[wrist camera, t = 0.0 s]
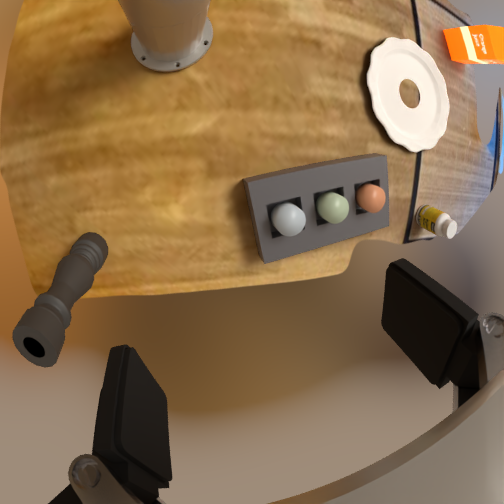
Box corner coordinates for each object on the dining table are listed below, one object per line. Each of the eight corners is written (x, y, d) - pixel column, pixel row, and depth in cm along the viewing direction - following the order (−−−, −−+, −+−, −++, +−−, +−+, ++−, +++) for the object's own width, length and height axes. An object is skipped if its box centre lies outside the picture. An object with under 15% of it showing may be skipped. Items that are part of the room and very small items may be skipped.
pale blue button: (268, 205, 43) (273, 210, 41) (296, 198, 44) (303, 203, 41) (273, 233, 45) (278, 239, 43) (300, 225, 46) (307, 231, 43)
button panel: (242, 178, 43) (247, 182, 40) (375, 153, 46) (386, 155, 43) (259, 255, 50) (264, 264, 46) (378, 220, 53) (389, 225, 50)
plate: (430, 44, 38) (436, 43, 37) (449, 143, 50) (454, 144, 48) (347, 36, 36) (353, 33, 34) (376, 159, 47) (382, 160, 46)
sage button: (314, 194, 44) (322, 198, 42) (338, 188, 45) (347, 192, 42) (317, 221, 46) (325, 226, 44) (341, 214, 47) (349, 219, 44)
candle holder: (114, 255, 43) (70, 360, 21) (89, 270, 43) (39, 374, 21) (96, 225, 40) (29, 314, 18) (70, 242, 40) (1, 333, 18)
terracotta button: (354, 185, 45) (363, 189, 43) (375, 180, 46) (385, 184, 43) (355, 210, 47) (365, 215, 45) (376, 205, 48) (385, 210, 45)
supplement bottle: (412, 213, 54) (442, 228, 46) (426, 199, 54) (456, 212, 45) (418, 230, 57) (447, 246, 48) (431, 216, 56) (460, 230, 48)
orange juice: (451, 60, 40) (515, 60, 22) (442, 29, 36) (504, 23, 18) (466, 64, 41) (525, 66, 23) (458, 34, 37) (515, 31, 19)
